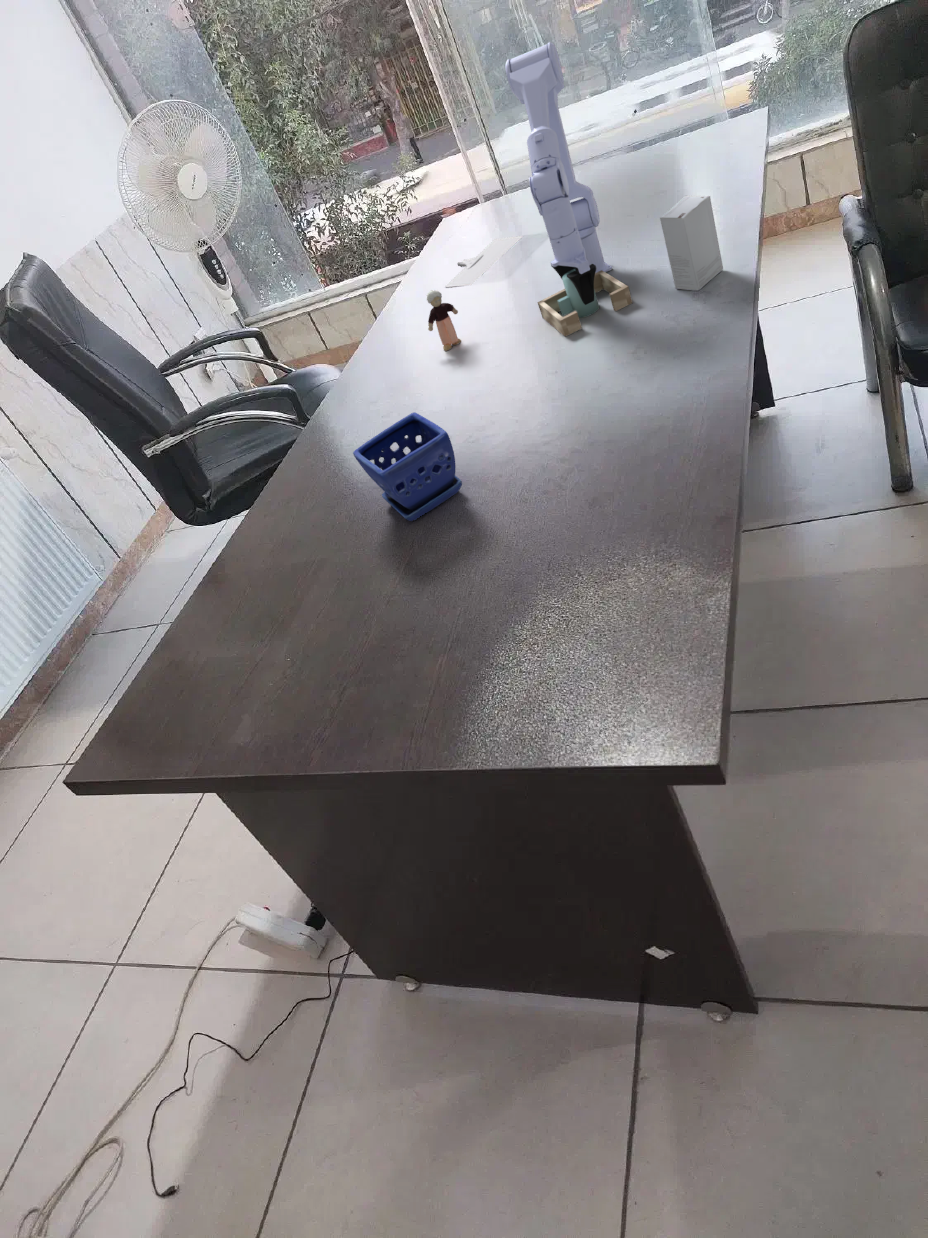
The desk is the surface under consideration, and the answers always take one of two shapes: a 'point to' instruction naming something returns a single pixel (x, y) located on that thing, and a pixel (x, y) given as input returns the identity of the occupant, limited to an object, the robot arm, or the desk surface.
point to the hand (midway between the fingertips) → (582, 297)
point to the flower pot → (412, 465)
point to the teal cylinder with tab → (575, 300)
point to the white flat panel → (482, 261)
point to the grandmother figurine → (442, 319)
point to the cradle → (571, 321)
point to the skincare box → (692, 242)
